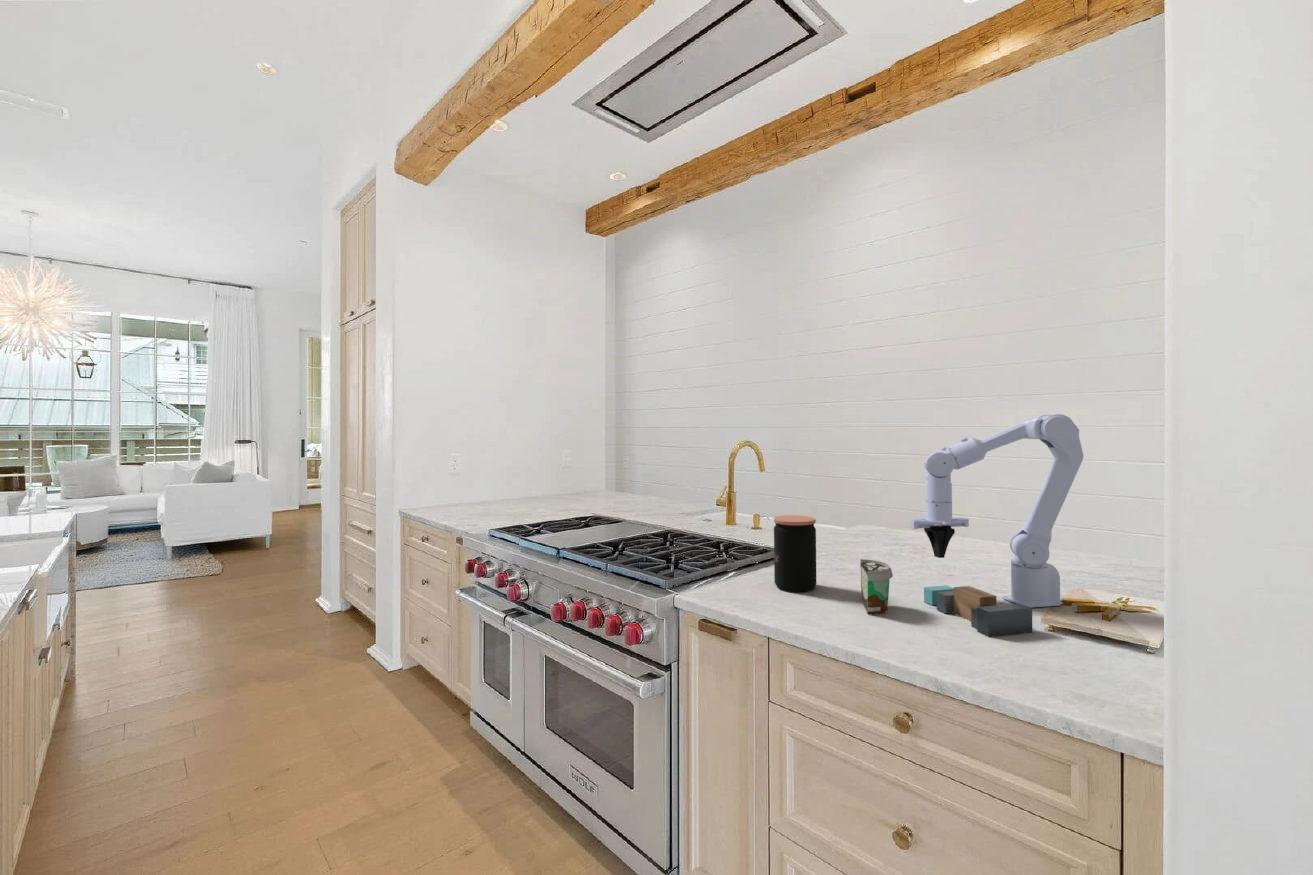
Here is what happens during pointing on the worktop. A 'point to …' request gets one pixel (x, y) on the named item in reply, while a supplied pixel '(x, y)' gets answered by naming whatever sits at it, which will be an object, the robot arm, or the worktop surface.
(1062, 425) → the robot arm
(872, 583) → the food container
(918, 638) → the worktop surface
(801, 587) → the coffee jar
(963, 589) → the walnut block
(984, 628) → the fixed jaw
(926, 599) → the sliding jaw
